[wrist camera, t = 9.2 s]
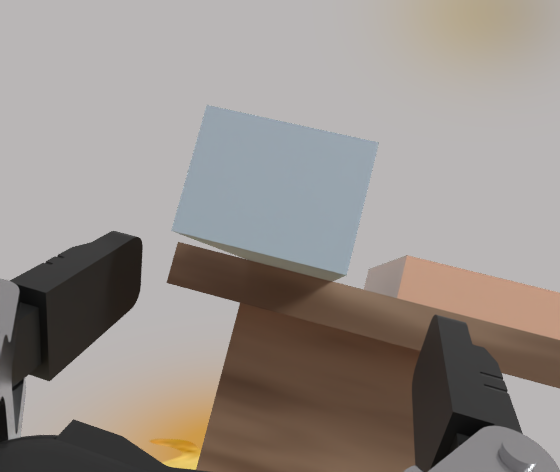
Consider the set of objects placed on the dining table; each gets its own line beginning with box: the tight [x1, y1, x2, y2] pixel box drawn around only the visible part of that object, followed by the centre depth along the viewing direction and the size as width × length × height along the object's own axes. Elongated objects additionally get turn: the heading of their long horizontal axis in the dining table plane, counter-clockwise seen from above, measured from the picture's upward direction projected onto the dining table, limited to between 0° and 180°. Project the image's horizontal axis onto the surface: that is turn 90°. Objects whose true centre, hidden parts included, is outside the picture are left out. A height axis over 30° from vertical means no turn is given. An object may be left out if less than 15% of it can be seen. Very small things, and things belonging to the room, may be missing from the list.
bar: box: [172, 105, 379, 281], centre depth 24 cm, size 28×4×3 cm, turn 175°
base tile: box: [364, 255, 560, 340], centre depth 28 cm, size 16×8×2 cm, turn 175°
